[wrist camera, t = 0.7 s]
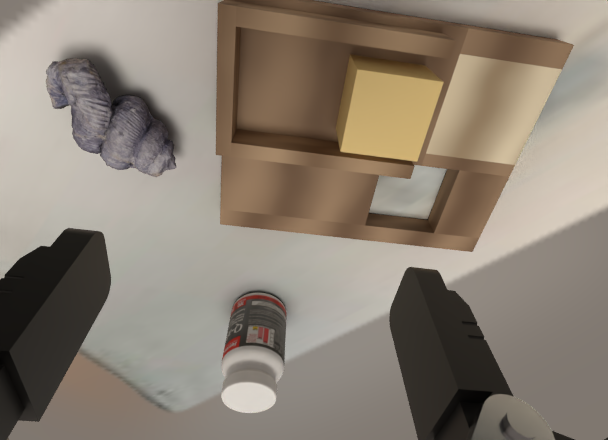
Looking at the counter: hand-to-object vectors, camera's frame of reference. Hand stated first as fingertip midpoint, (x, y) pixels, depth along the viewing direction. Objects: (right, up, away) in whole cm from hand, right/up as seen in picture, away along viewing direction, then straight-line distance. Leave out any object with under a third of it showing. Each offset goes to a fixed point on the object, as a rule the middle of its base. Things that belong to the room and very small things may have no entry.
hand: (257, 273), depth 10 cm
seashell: (-12, +10, +19) cm, 24 cm away
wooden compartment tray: (+6, +8, +20) cm, 22 cm away
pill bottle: (-3, -8, +31) cm, 32 cm away
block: (+6, +10, +16) cm, 20 cm away
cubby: (+3, +10, +16) cm, 19 cm away
